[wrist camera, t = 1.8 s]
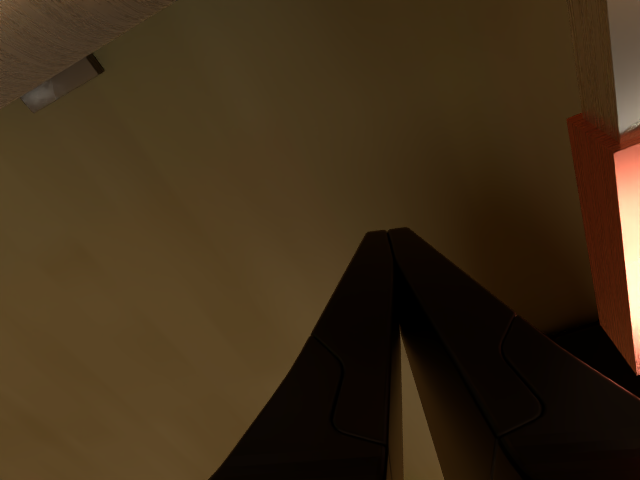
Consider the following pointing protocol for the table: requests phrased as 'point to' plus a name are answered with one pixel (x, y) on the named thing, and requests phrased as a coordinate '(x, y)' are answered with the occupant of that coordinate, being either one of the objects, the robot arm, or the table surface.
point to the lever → (610, 159)
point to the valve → (59, 43)
